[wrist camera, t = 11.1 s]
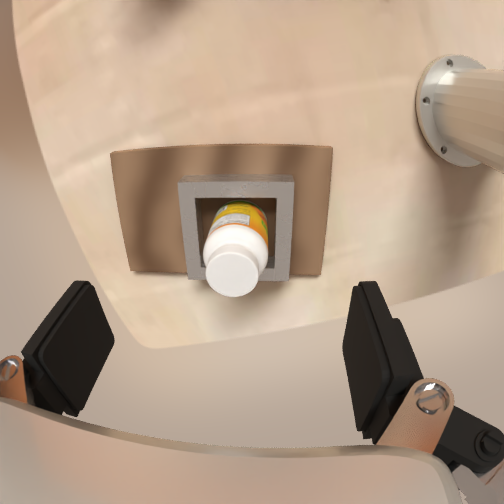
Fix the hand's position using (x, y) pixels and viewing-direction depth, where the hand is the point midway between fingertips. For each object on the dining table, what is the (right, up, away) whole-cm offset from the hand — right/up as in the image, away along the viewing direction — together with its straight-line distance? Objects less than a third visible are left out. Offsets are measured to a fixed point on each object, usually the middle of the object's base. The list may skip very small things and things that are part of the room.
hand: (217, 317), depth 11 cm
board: (-2, +6, +22) cm, 23 cm away
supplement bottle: (0, +5, +21) cm, 22 cm away
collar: (0, +5, +21) cm, 22 cm away
